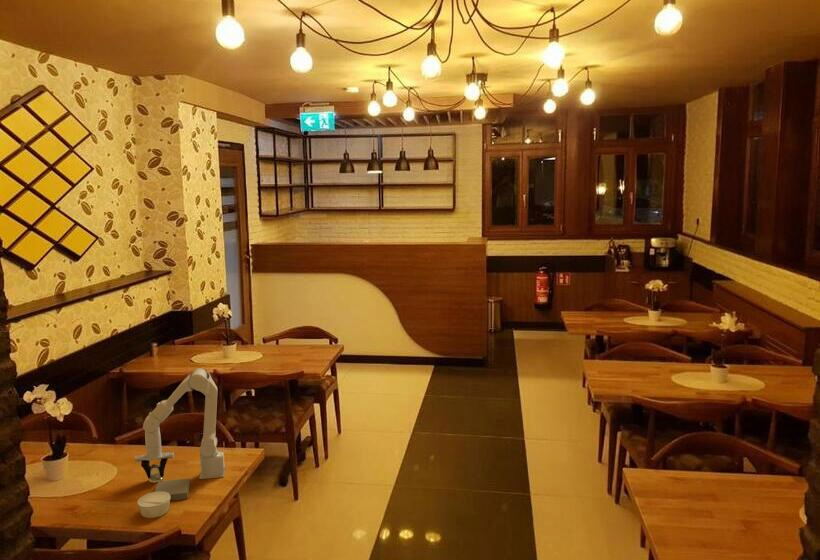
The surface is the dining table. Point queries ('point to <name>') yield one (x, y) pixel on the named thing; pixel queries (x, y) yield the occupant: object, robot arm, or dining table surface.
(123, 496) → the dining table surface
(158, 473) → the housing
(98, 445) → the dining table surface
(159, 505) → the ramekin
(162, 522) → the dining table surface
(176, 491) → the stand
